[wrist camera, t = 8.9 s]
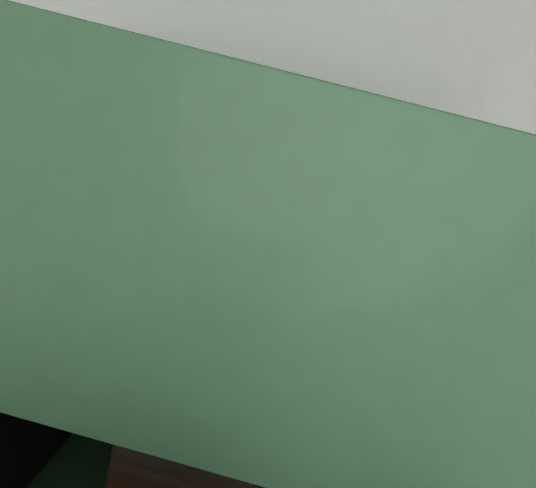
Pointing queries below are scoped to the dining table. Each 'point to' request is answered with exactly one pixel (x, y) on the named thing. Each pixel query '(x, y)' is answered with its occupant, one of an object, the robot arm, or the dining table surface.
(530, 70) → the dining table surface
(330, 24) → the dining table surface
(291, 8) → the dining table surface
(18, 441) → the robot arm
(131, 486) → the block
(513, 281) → the carton
